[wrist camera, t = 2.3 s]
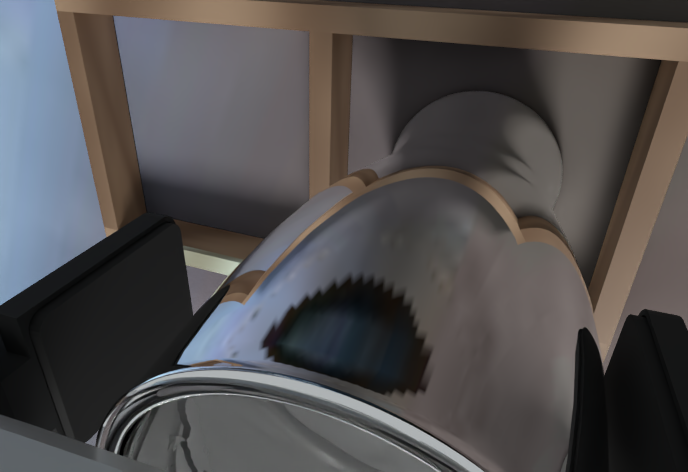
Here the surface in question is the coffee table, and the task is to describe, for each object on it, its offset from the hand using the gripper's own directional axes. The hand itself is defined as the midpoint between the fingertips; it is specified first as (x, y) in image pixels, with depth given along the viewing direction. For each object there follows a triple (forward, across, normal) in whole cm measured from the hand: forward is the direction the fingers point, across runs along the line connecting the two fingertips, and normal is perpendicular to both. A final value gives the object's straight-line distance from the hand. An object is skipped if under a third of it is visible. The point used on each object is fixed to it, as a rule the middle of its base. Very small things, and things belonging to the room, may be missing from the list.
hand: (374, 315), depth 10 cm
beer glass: (+10, -1, 0) cm, 10 cm away
